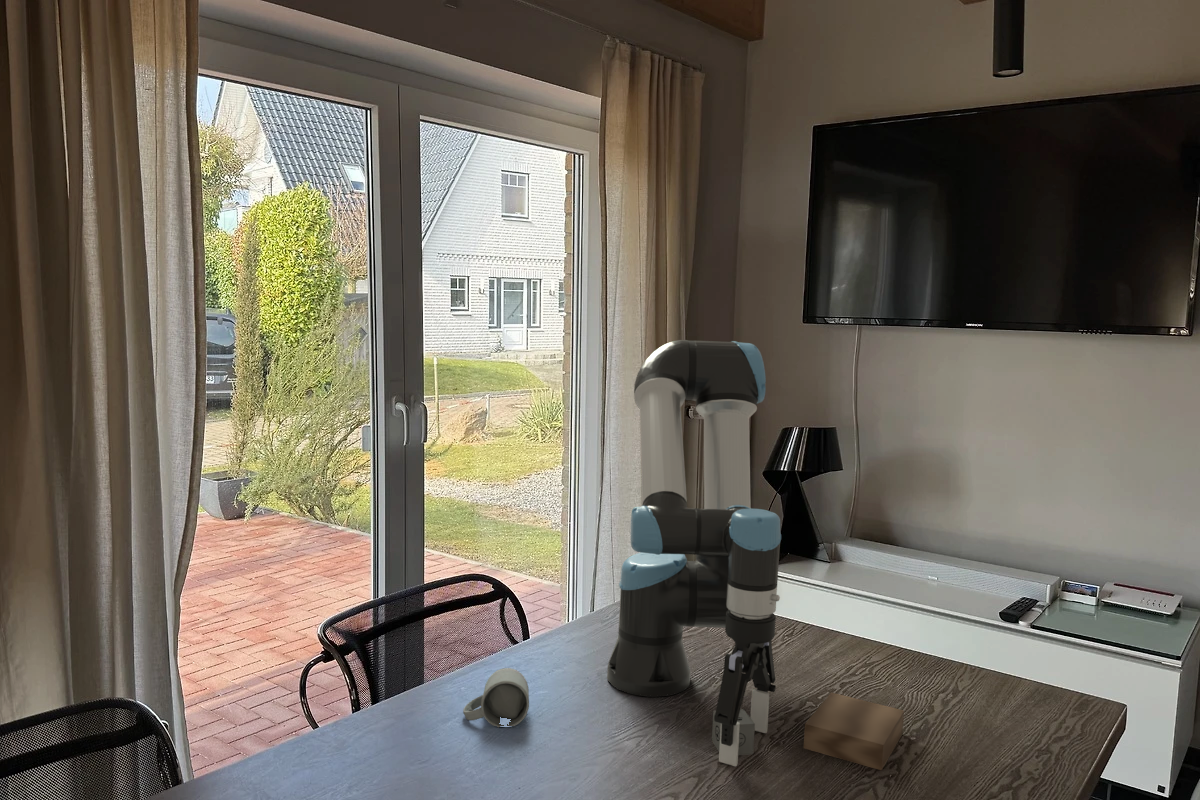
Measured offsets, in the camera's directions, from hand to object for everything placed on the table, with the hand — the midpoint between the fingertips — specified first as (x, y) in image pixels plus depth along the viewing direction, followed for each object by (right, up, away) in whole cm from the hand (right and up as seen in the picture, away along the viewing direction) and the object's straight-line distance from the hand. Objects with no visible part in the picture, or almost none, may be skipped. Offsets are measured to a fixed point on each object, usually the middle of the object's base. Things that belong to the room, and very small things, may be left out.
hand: (743, 746), depth 141 cm
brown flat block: (+18, 0, +3) cm, 18 cm away
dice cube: (-2, 0, 0) cm, 2 cm away
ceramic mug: (-39, +2, +7) cm, 40 cm away
